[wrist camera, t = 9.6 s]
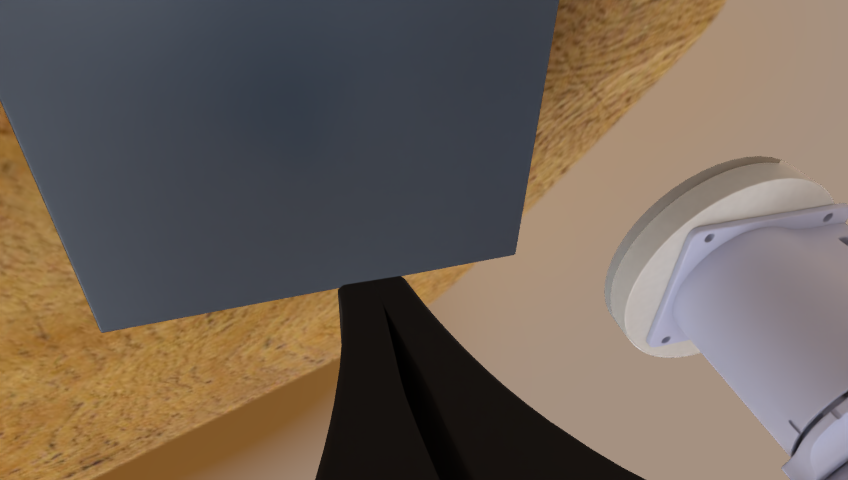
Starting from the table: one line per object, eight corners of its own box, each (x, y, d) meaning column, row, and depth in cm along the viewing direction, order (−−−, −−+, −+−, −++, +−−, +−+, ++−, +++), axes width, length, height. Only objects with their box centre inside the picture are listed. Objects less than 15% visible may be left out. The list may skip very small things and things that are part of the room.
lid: (103, 313, 16) (100, 334, 16) (-137, -259, 9) (-160, -261, 8) (505, 240, 20) (515, 255, 19) (578, -222, 12) (599, -221, 12)
